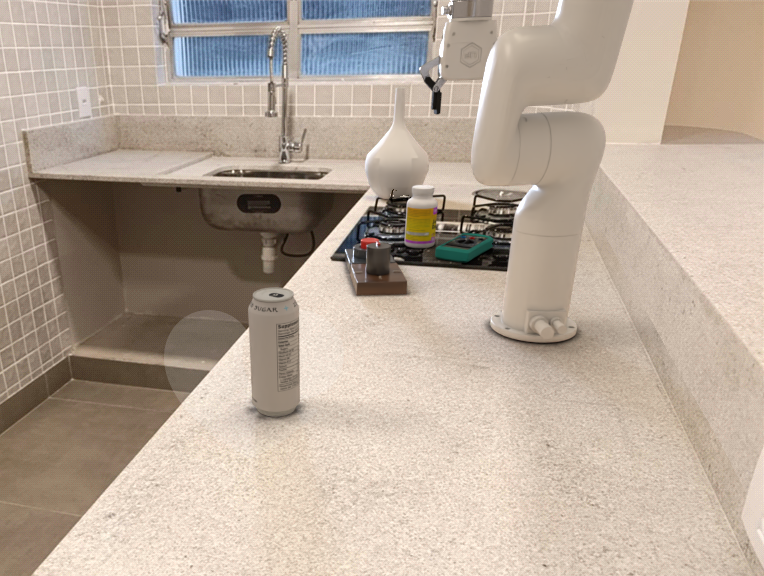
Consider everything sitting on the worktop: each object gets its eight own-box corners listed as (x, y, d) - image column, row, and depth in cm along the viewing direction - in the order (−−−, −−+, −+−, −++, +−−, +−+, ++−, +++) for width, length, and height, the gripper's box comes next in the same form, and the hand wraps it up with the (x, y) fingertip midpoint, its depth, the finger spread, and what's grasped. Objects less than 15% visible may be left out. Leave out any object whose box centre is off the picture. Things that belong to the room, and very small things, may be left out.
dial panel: (406, 294, 125) (407, 280, 124) (356, 295, 126) (356, 281, 125) (396, 275, 136) (397, 261, 135) (350, 276, 137) (350, 263, 136)
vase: (360, 202, 200) (364, 90, 188) (366, 190, 216) (370, 86, 204) (426, 203, 196) (434, 88, 183) (427, 191, 212) (434, 85, 199)
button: (379, 250, 140) (380, 241, 139) (361, 251, 140) (361, 242, 139) (377, 245, 143) (377, 237, 142) (359, 246, 143) (360, 238, 142)
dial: (391, 275, 128) (392, 246, 126) (367, 275, 128) (368, 247, 126) (387, 268, 132) (389, 240, 130) (364, 268, 132) (365, 241, 130)
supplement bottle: (434, 249, 152) (439, 189, 147) (404, 249, 153) (407, 189, 148) (434, 241, 158) (438, 184, 152) (404, 241, 159) (407, 184, 154)
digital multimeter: (494, 248, 152) (495, 234, 150) (467, 264, 141) (468, 250, 140) (461, 244, 156) (463, 231, 154) (433, 259, 145) (434, 245, 144)
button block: (395, 272, 138) (396, 253, 136) (349, 274, 138) (349, 254, 136) (387, 257, 148) (388, 239, 146) (344, 259, 148) (345, 240, 146)
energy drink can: (272, 392, 92) (268, 282, 85) (309, 404, 88) (309, 291, 82) (242, 410, 87) (236, 296, 81) (280, 423, 84) (277, 305, 77)
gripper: (426, 13, 124) (419, 116, 131) (525, 9, 123) (513, 113, 130) (419, 15, 130) (413, 113, 138) (513, 11, 129) (502, 110, 137)
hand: (462, 113), depth 134 cm, fingers open, 9 cm apart
